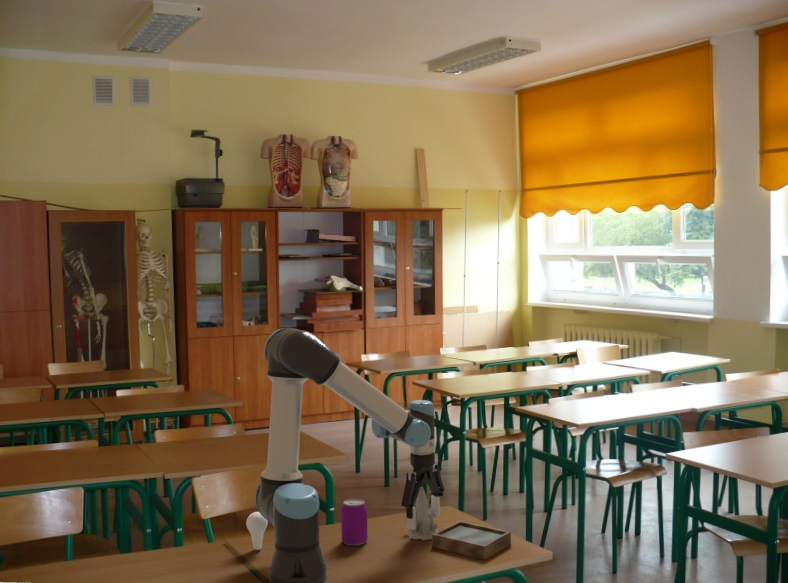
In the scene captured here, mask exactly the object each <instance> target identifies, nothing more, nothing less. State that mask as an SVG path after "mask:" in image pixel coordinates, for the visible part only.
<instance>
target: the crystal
mask: <svg viewBox="0 0 788 583" xmlns="http://www.w3.org/2000/svg"><path fill="white" fill-rule="evenodd" d="M415 504H416V505H415V507H416V529H415V530H413V529H409V530H408V531H407V532H406V534H407V536H406V537H408V536H409V537H410V538H409V537H408V538H409V539H412V538H413V539H412V540H417V539H422V540H421V541H427V540H428V539H429V540H432V534H434V533H436V532H438V531H439V530H438V528H439V527H438V523H437V522H436V523H435V521H434V518H435V517H434V516H433V513H432V510H431V508H429V500H428V496H427V494H426V492H425V489H424V485H423V486H422V487H421V488H420V490H419V493H418V496H417V499H416V501H415Z"/></svg>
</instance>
